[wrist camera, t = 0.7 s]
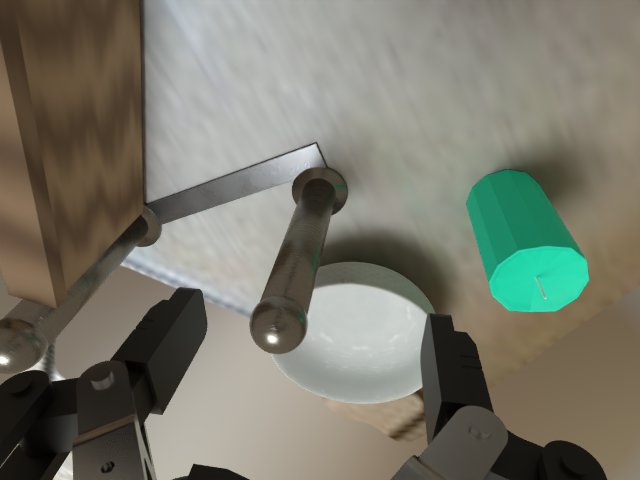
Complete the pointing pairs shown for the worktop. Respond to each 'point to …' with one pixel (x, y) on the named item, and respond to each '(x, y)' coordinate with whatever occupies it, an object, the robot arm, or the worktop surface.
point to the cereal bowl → (360, 336)
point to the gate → (66, 139)
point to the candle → (524, 244)
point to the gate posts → (296, 250)
